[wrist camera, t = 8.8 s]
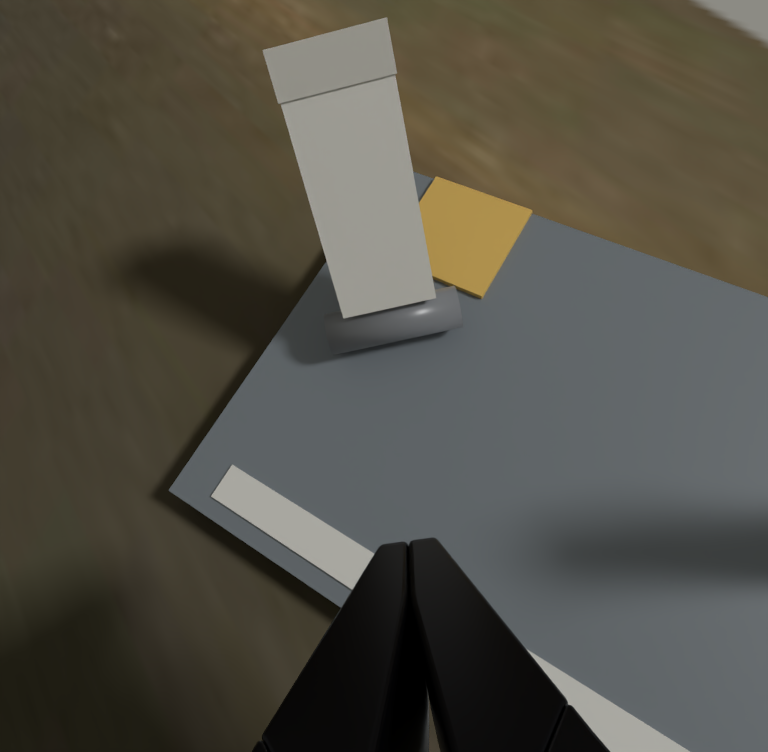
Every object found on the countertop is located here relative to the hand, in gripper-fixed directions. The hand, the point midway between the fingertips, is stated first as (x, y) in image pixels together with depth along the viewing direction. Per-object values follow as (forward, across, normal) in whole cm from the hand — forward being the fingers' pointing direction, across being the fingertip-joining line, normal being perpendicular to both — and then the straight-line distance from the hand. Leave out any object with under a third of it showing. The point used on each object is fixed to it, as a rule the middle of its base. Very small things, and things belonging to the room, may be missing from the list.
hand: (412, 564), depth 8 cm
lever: (+11, 0, -1) cm, 11 cm away
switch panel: (+8, -6, +5) cm, 12 cm away
